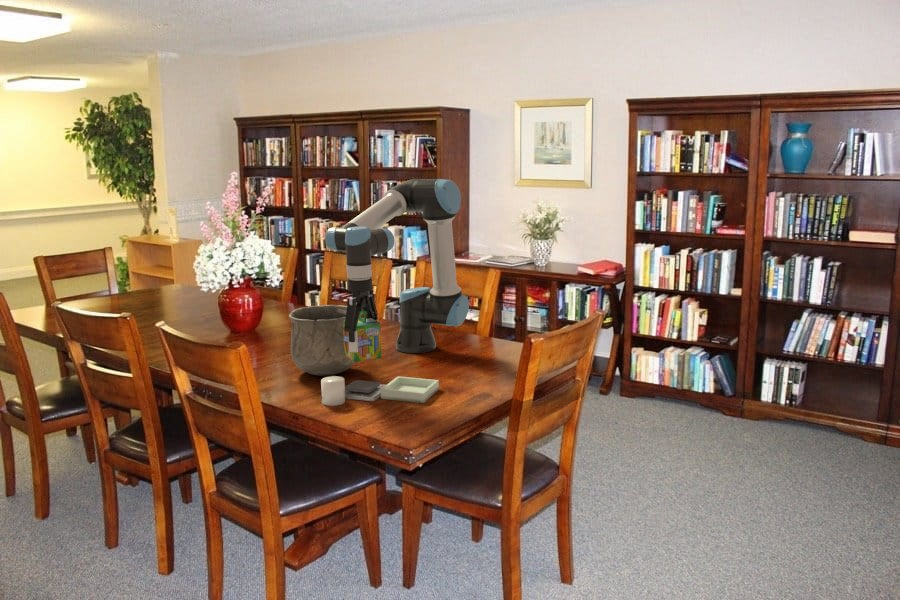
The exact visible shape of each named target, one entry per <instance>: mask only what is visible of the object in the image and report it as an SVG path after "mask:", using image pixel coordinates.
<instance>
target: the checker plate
mask: <svg viewBox="0 0 900 600" xmlns="http://www.w3.org/2000/svg"><path fill="white" fill-rule="evenodd" d="M352 382H353V381H352ZM349 384H350V383H349ZM380 384H381V382H380V381H369V380H362V379H361V380H359V379H356V380H354V382H353V383H352V384H350V385H349V386H347V385H346V386H347V387H346V391H354V392H364V393H370V392H372V391H373V390H374V389H376V388H377V387H378V386H380Z"/></svg>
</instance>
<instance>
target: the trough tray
mask: <svg viewBox="0 0 900 600" xmlns="http://www.w3.org/2000/svg"><path fill="white" fill-rule="evenodd" d="M439 381H440V380H439V379H433V378H432V379H431V378H428V379H427V378H420V377H409V376H400V375H399V376H396V377H395V378H393V379H392V380H390V381H389V383H387V384H385V385H386V386H384V387H383V388H382V389H381V396H380V399H381V400H389V401H390V400H391V401H400V402H407V403H408V402H409V403H410V402H411V403H419V404H420V403H421V404H424V403H426V402H427V401H428V400H429V399H431V397H432V396H433V395H435V393H436V392H438V390H439V388H440V384H439V383H440V382H439Z"/></svg>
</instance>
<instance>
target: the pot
mask: <svg viewBox="0 0 900 600" xmlns="http://www.w3.org/2000/svg"><path fill="white" fill-rule="evenodd" d="M346 311H347V305H340V304H338V305H336V304H321V305H311V306H306V307H299V308H296V309H293V310H292V311H291V312H290V313H289V315H288V318H289V319H290V320H291V321H290V322H291V325H290V327H291V332H290V356H291V359H292V361H293V363H294V365H295V366H296V367H297V368H298V369H300V370H301V371H303V372H304V373H308V374H309V375H314V376H320V377H329V376H335V375H337V374H341V373H343V372H345V371H348V370H349V369H350V368H351V367H352V366H353V365H354V364H355V362H354V361H352V360H351V359H349V358H348V357H346V356H345V355H344V330H343V320H345V318H346Z"/></svg>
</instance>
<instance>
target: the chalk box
mask: <svg viewBox="0 0 900 600" xmlns="http://www.w3.org/2000/svg"><path fill="white" fill-rule="evenodd" d="M363 315H364V316H363ZM344 326H345V320H343V330H344ZM356 331H357V335H358V352H349V340H348V331H344V355H345V356H346V357H348V358H349V359H351V360H352V361H354V364H355V363H359V362H365V361H366V362H367V361H371V360H378V359H382V336H381V335H382V334H381V333H382V332H381V322H380V321H378V320H374V319H372V318H370V317H367V312H366V311H364V310H363V309H362V311H361V312H360V315H359V319H358V323H357V327H356Z"/></svg>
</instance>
